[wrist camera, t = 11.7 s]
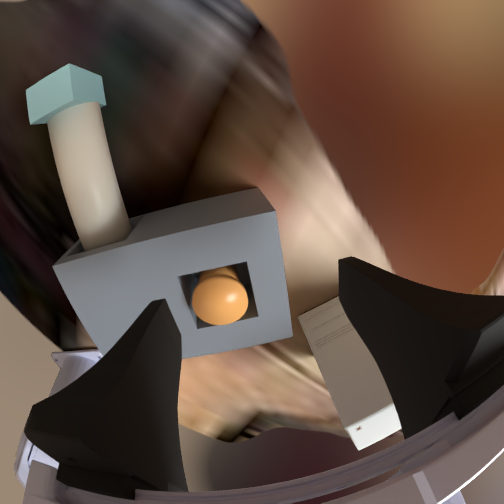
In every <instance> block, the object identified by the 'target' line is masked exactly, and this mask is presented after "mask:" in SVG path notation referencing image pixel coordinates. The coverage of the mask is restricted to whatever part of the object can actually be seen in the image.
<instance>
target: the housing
mask: <svg viewBox="0 0 504 504" xmlns="http://www.w3.org/2000/svg"><path fill="white" fill-rule="evenodd" d="M129 221H130V224H131V227H132V230H133V231H132V232H131V233H130V235H129V236H128V238H127V239H126V240H124V241H120V242H117V243H113V244H109V245H106V246H102V247H99V248H95V249H92V250H88V251H84V249H83V246H82V244H81V241H80V239H79V240H78V241H77V242H76V243H75V244H74V245H73V246H72V247H71V248H70V249H69V250H68V251H67V252H66V253H65V254H64V255H63V256H62V257H61V258H60V259H59V260H58V261H57V262H56V263H55V264H54V265H53V266H52V267H53V269H54V271H55V273H56V275H57V278H58V280H59V282H60V284H61V286H62V288H63V290H64V292H65V293H66V295H67V297H68V299H69V301H70V303H71V305H72V306H73V308H74V310H75V312H76V314H77V315H78V317H79V319H80V320H81V322H82V324H83V325H84V327H85V329H86V330H87V332H88V334H89V335H90V337H91V338H92V340H93V341H94V343H95V344H96V346H97V347H98V349H99V350H100V352H101V353H102V355H103V356H104V355H105V354H106V353H107V352H108V351H109V350H110V349H111V348H112V347H113V346H114V345H115V343H116V342H117V341H118V340H119V339H120V338H121V337H122V336H123V334H124V333H125V332H126V331H127V330H128V329H129V327H130V326H131V325H132V324H133V322H134V321H135V320H136V319H137V318H138V316H139V315H140V314H141V313H142V311H143V310H144V309H145V308H146V307H147V306H148V304H149V303H150V302H151V301H154V300H159V299H164V298H165V299H166V301H167V303H168V306H169V308H170V310H171V313H172V315H173V317H174V320H175V322H176V324H177V326H178V329H179V331H180V333H181V337H182V359H185V358H191V357H198V356H204V355H209V354H215V353H221V352H226V351H231V350H236V349H241V348H246V347H251V346H256V345H260V344H265V343H269V342H273V341H277V340H282V339H286V338H290V337H293V332H292V324H291V316H290V308H289V300H288V292H287V285H286V277H285V270H284V263H283V256H282V249H281V242H280V235H279V228H278V222H277V215H276V210H275V209H274V208H273V206H272V205H271V204H270V202H269V201H268V200H267V198H266V197H265V196H264V194H263V193H262V192H261V190H260V189H259V188H253V189H248V190H243V191H239V192H234V193H229V194H225V195H220V196H216V197H211V198H207V199H203V200H198V201H194V202H190V203H186V204H182V205H178V206H174V207H170V208H166V209H163V210H159V211H155V212H151V213H148V214H144V215H140V216H137V217H133V218H130V219H129ZM232 264H236V265H237V271H238V277H239V281H240V282H241V283H242V284H243V286H244V287H245V289H246V293H247V297H248V307H247V310H246V312H245V313H244V315H243V316H242V317H241V318H240V319H238V320H237V321H235V322H233V323H230V324H226V325H213V324H209V323H207V322H205V321H203V320H202V319H200V318H199V317H198V316H197V315H196V313H195V312H194V310H193V306H192V298H193V291H194V289H195V287H196V285H197V284H198V283H199V273H200V271H205V270H210V269H214V268H219V267H223V266H228V265H232Z"/></svg>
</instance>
